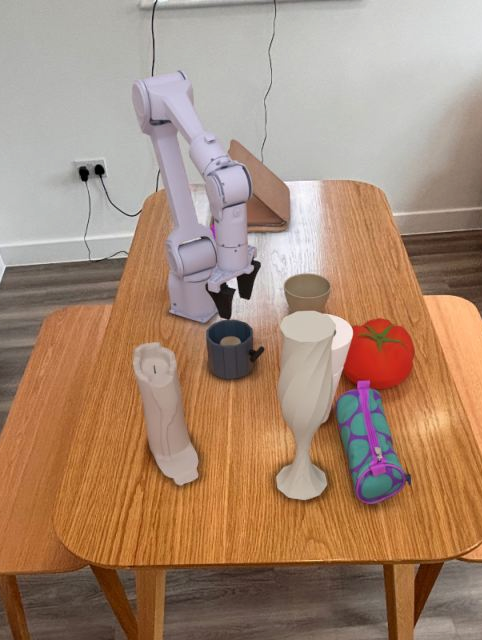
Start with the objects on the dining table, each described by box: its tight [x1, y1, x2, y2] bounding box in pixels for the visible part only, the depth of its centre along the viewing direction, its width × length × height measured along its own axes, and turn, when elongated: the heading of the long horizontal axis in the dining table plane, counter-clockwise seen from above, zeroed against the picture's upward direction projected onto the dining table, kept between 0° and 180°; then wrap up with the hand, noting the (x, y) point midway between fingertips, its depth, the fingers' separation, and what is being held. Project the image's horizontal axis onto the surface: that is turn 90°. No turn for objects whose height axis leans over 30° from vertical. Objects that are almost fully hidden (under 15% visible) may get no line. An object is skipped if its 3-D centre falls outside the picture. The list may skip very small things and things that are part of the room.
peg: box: [220, 336, 241, 346], centre depth 126 cm, size 4×4×5 cm
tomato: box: [342, 317, 416, 390], centre depth 122 cm, size 14×16×10 cm
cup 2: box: [321, 313, 353, 424], centre depth 111 cm, size 11×11×18 cm
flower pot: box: [283, 272, 332, 314], centre depth 137 cm, size 10×10×7 cm
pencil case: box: [334, 381, 412, 505], centre depth 106 cm, size 21×9×10 cm, turn 5°
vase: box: [275, 311, 336, 501], centre depth 96 cm, size 9×8×30 cm
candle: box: [132, 341, 200, 486], centre depth 104 cm, size 7×14×20 cm, turn 24°
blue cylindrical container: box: [205, 319, 265, 380], centre depth 125 cm, size 11×9×8 cm
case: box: [209, 139, 291, 233], centre depth 165 cm, size 20×21×16 cm
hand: (235, 307), depth 124 cm, fingers open, 7 cm apart
